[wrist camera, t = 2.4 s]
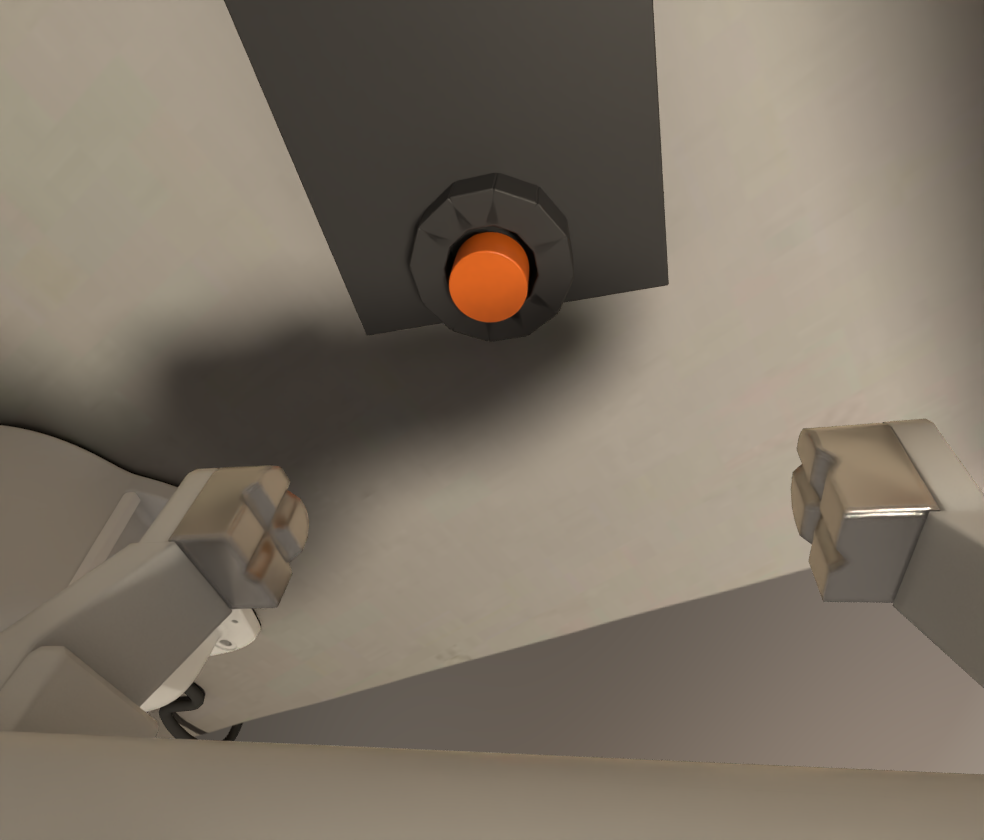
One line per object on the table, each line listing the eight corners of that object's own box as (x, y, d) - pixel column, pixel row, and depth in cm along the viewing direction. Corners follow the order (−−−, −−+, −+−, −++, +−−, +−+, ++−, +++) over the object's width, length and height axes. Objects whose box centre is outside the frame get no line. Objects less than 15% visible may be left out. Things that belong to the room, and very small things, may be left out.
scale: (664, 274, 23) (675, 313, 21) (376, 323, 26) (359, 363, 23) (631, -262, 14) (645, -297, 12) (201, -106, 17) (145, -111, 15)
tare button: (535, 294, 21) (534, 316, 20) (465, 306, 22) (460, 328, 20) (520, 224, 20) (518, 243, 18) (445, 239, 20) (438, 259, 19)
